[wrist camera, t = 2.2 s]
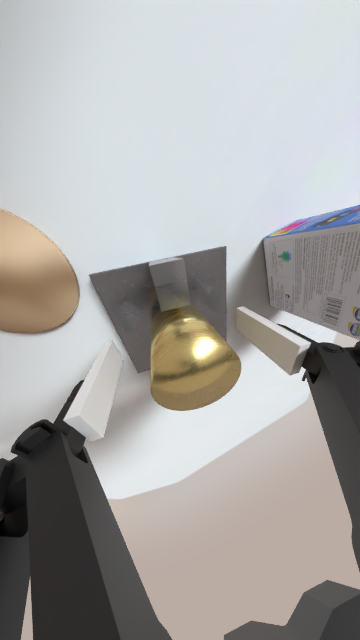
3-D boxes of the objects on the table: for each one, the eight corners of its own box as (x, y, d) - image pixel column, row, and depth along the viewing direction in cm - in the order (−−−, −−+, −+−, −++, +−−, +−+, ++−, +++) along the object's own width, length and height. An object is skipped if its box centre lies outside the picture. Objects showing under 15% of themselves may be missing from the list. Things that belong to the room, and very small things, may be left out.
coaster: (-149, 213, 8) (-169, 210, 8) (28, 188, 10) (22, 184, 9) (-5, 341, 14) (-11, 344, 13) (99, 316, 15) (97, 318, 14)
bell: (136, 291, 12) (120, 330, 5) (198, 276, 12) (247, 298, 6) (162, 366, 16) (169, 431, 10) (206, 353, 17) (237, 408, 11)
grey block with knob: (92, 273, 13) (55, 285, 8) (221, 246, 14) (261, 242, 9) (138, 367, 20) (134, 406, 14) (223, 343, 21) (246, 371, 16)
